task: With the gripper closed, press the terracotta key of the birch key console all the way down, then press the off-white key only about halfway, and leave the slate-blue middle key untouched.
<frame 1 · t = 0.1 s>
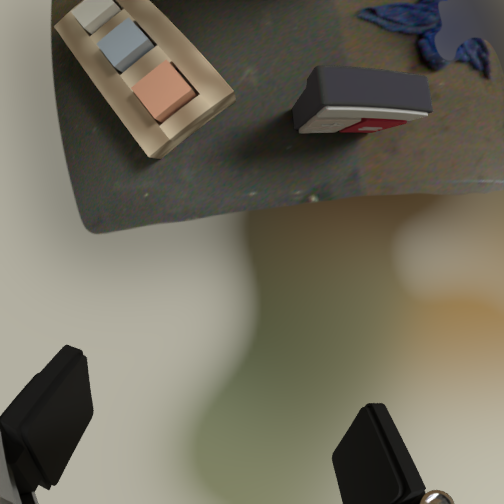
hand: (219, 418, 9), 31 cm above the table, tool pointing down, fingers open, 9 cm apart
terracotta key: (163, 91, 29), point 6 cm above the table, slide at 0.0 cm
offwhite key: (96, 11, 25), point 6 cm above the table, slide at 0.0 cm
key console: (140, 58, 32), on the table
slate key: (125, 45, 27), point 6 cm above the table, slide at 0.0 cm
calculator: (333, 119, 35), on the table
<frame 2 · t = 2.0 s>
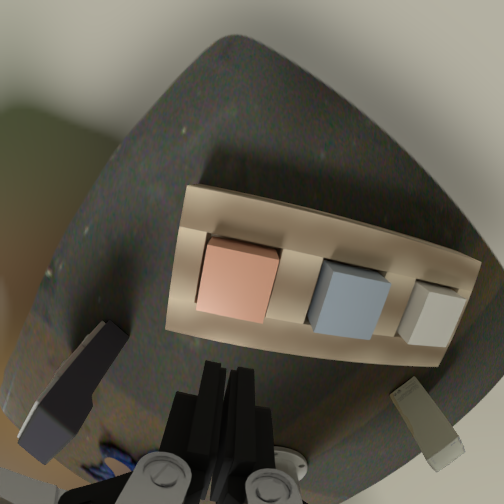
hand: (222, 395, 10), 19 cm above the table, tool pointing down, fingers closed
terracotta key: (236, 279, 22), point 5 cm above the table, slide at 0.0 cm
skincare box: (408, 394, 33), on the table
offwhite key: (430, 314, 24), point 6 cm above the table, slide at 0.0 cm
key console: (331, 278, 28), on the table
slate key: (347, 300, 23), point 5 cm above the table, slide at 0.0 cm
calculator: (99, 352, 31), on the table
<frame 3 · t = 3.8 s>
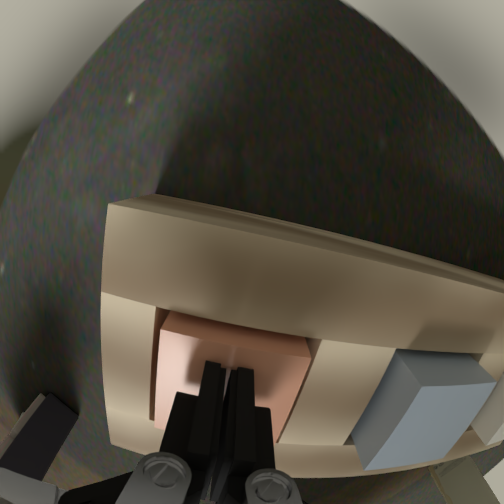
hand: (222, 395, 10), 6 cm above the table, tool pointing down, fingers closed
terracotta key: (226, 376, 11), point 4 cm above the table, slide at 1.3 cm, touching gripper
skincare box: (448, 460, 20), on the table
key console: (382, 350, 16), on the table
slate key: (422, 409, 11), point 5 cm above the table, slide at 0.0 cm
calculator: (48, 423, 18), on the table
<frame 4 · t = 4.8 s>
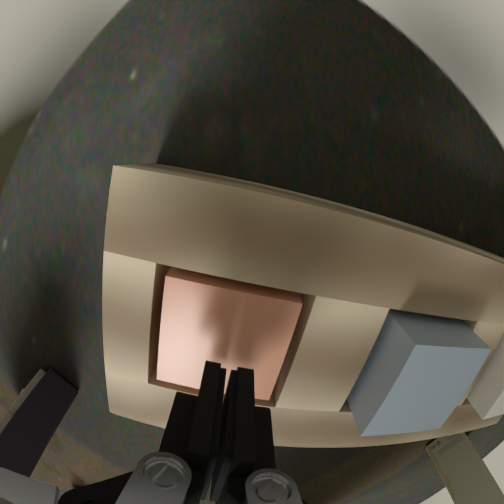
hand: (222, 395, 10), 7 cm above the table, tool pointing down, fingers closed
terracotta key: (224, 327, 13), point 3 cm above the table, slide at 2.0 cm
skincare box: (445, 441, 22), on the table
key console: (377, 319, 17), on the table
slate key: (417, 375, 11), point 6 cm above the table, slide at 0.0 cm
calculator: (48, 401, 19), on the table
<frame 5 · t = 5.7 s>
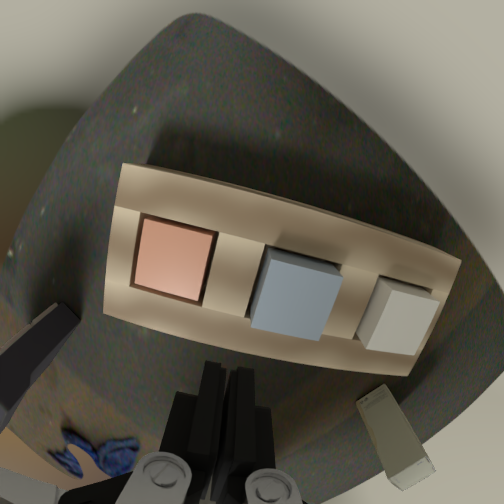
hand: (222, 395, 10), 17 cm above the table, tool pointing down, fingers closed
terracotta key: (175, 255, 22), point 3 cm above the table, slide at 2.0 cm
skincare box: (378, 402, 31), on the table
offwhite key: (396, 317, 22), point 5 cm above the table, slide at 0.0 cm
key console: (285, 269, 26), on the table
slate key: (293, 294, 21), point 5 cm above the table, slide at 0.0 cm
calculator: (55, 334, 29), on the table
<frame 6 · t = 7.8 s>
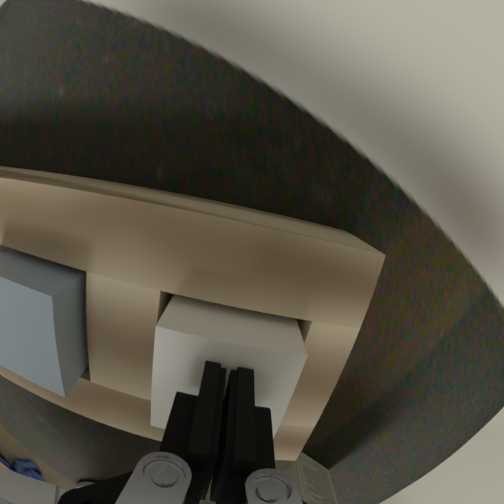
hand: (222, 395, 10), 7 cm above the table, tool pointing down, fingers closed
skincare box: (293, 466, 21), on the table
offwhite key: (222, 374, 11), point 5 cm above the table, slide at 0.1 cm, touching gripper
key console: (84, 279, 16), on the table
slate key: (31, 318, 10), point 5 cm above the table, slide at 0.0 cm
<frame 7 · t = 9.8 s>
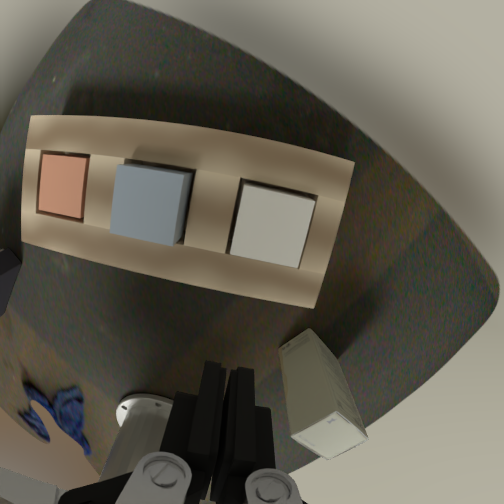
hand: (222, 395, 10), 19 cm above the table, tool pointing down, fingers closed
terracotta key: (69, 183, 22), point 3 cm above the table, slide at 2.0 cm
skincare box: (309, 353, 31), on the table
offwhite key: (270, 223, 22), point 5 cm above the table, slide at 0.9 cm
key console: (170, 193, 26), on the table
slate key: (150, 202, 21), point 5 cm above the table, slide at 0.0 cm
calculator: (6, 281, 30), on the table
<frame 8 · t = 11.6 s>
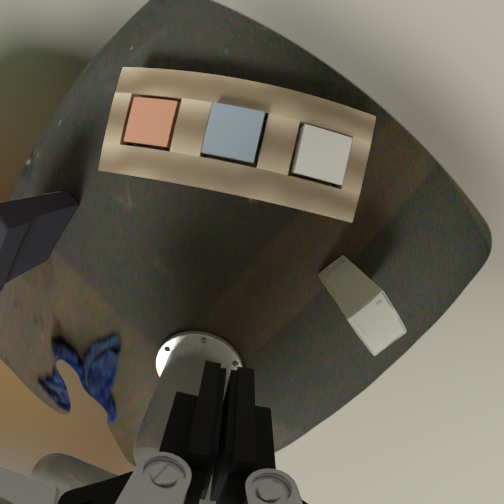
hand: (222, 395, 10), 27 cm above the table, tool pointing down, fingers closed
terracotta key: (153, 123, 29), point 3 cm above the table, slide at 2.0 cm
skincare box: (342, 281, 38), on the table
offwhite key: (320, 155, 29), point 5 cm above the table, slide at 0.9 cm
key console: (236, 139, 33), on the table
slate key: (233, 133, 28), point 5 cm above the table, slide at 0.0 cm
calculator: (56, 226, 35), on the table
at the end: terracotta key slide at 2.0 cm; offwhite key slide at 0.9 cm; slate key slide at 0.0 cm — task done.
